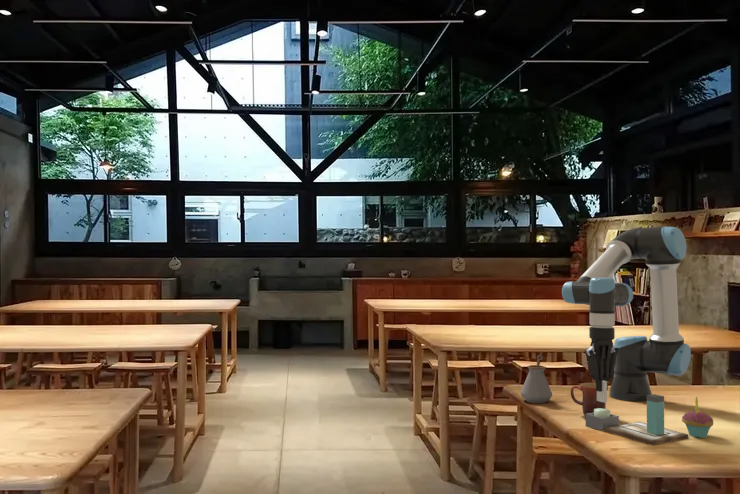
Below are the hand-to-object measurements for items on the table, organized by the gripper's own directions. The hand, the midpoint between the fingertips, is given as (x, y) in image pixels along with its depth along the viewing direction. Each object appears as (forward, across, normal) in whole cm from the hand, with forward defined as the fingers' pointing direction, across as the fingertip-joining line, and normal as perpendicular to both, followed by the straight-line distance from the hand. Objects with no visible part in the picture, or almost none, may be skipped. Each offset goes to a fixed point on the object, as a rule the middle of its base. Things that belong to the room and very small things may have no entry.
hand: (601, 401), depth 206 cm
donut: (+8, -18, +20) cm, 28 cm away
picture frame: (+8, -5, +12) cm, 15 cm away
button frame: (+8, 0, 0) cm, 8 cm away
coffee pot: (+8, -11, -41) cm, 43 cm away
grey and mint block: (+7, -5, +16) cm, 18 cm away
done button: (+6, 0, 0) cm, 6 cm away
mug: (+8, -8, -13) cm, 17 cm away
